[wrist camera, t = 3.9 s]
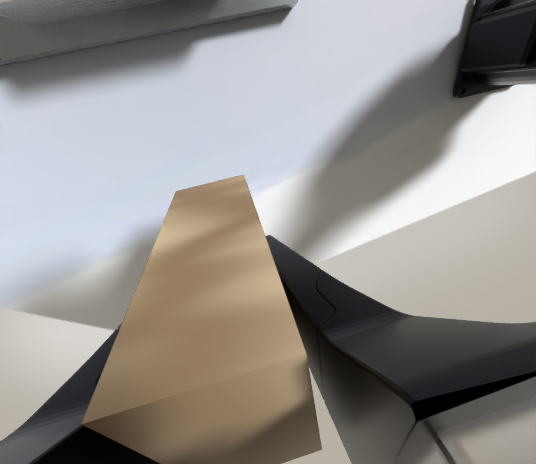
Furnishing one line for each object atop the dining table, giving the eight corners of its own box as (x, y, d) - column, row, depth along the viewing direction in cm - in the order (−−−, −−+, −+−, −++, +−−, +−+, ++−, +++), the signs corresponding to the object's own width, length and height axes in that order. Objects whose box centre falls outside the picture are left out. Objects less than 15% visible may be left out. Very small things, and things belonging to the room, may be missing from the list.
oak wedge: (243, 174, 10) (306, 353, 3) (264, 259, 12) (322, 449, 6) (175, 191, 9) (81, 423, 3) (213, 273, 12) (210, 488, 6)
